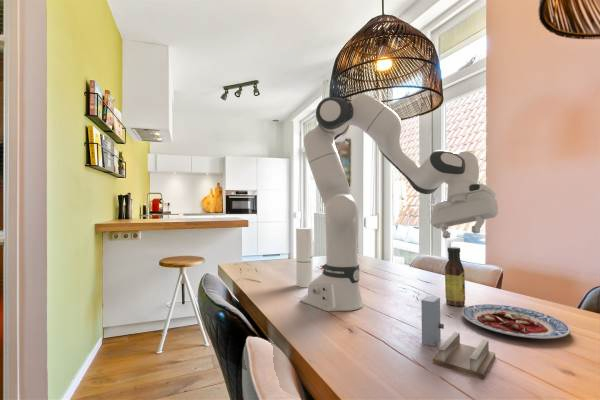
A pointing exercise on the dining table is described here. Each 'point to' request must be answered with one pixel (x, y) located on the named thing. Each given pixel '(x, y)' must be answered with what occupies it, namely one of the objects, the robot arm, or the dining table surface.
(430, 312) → the upright grey pillar
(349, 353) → the dining table surface
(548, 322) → the ceramic plate
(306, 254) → the cylindrical container
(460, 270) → the sauce bottle
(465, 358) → the floor track
